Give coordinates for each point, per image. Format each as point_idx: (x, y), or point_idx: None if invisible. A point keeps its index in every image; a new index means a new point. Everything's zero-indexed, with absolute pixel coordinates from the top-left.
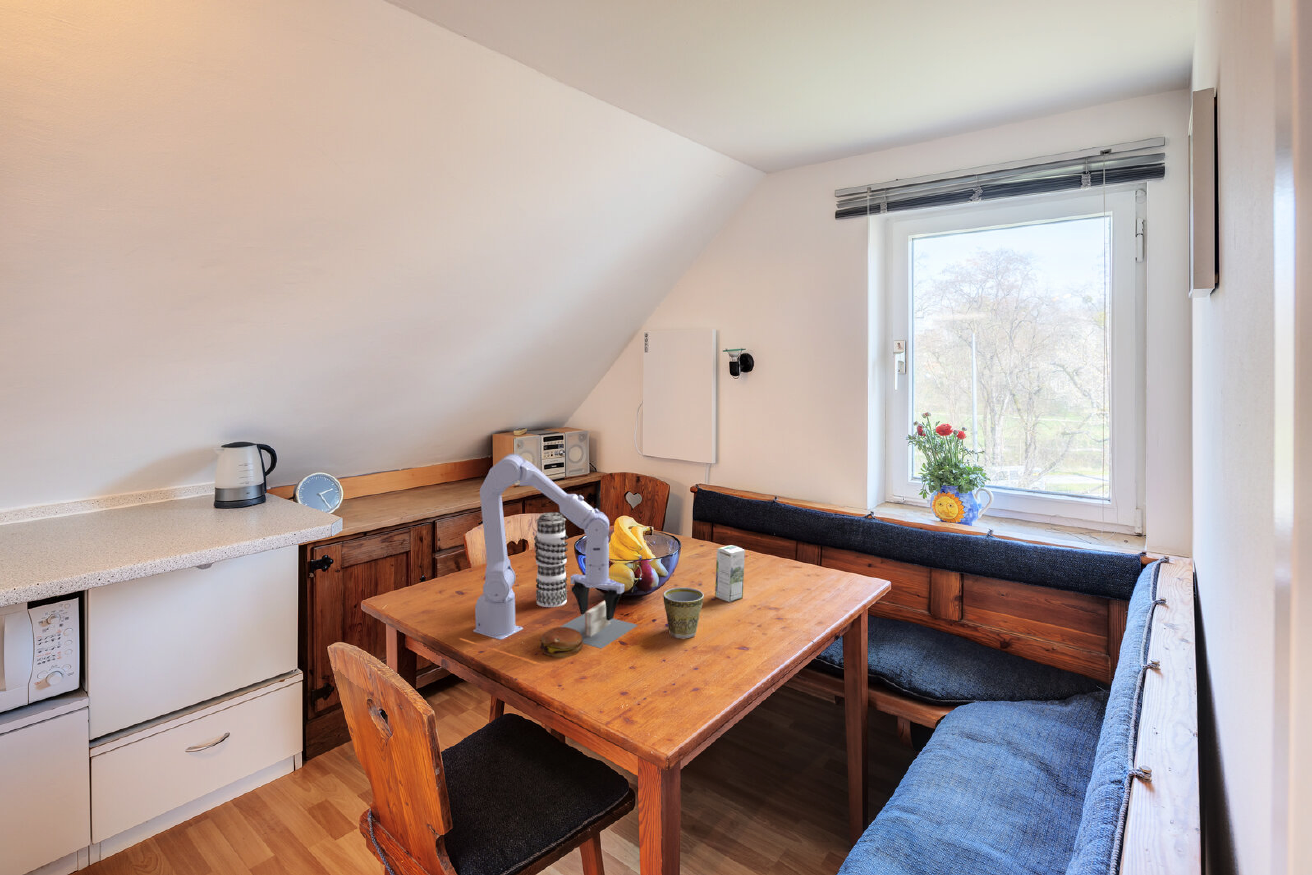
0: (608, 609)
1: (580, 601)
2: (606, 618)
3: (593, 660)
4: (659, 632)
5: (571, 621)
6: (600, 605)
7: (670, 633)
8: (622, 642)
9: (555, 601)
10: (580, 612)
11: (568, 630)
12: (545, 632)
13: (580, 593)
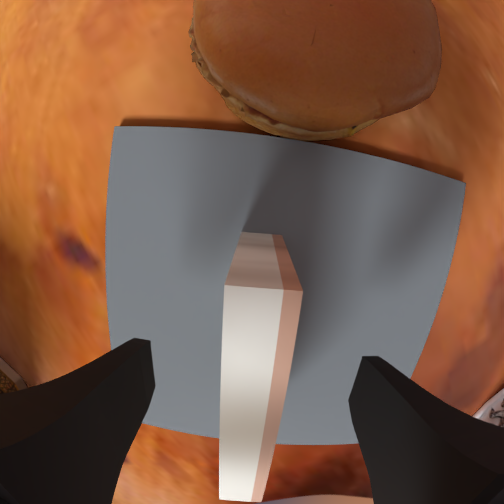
0: (80, 373)
1: (416, 409)
2: (144, 343)
3: (113, 30)
4: (45, 382)
5: (417, 350)
6: (239, 449)
7: (15, 374)
8: (79, 256)
9: (491, 421)
10: (383, 359)
11: (309, 23)
12: (429, 3)
13: (450, 470)
